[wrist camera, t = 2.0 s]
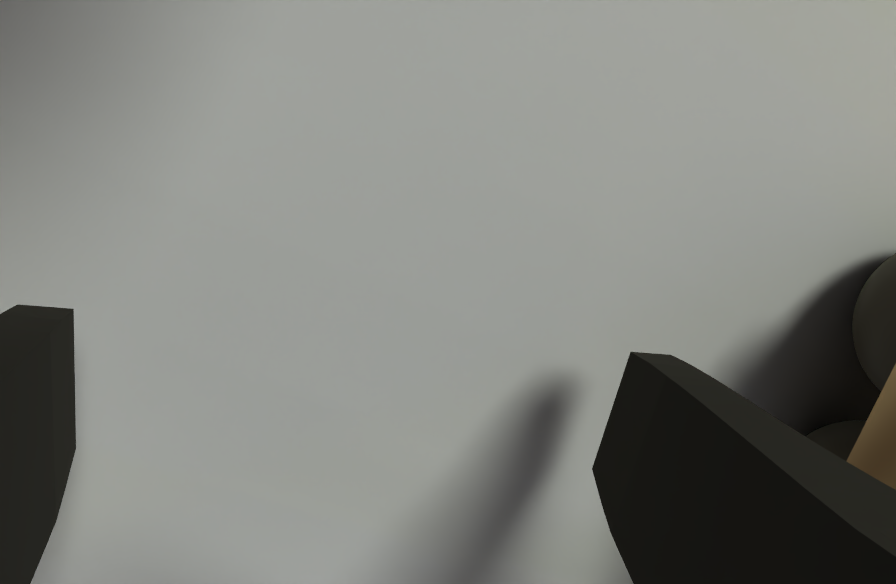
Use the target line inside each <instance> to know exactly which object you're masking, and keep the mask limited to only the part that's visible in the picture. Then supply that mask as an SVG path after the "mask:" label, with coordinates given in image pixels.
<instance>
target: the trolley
mask: <svg viewBox="0 0 896 584" xmlns="http://www.w3.org/2000/svg"><path fill="white" fill-rule="evenodd" d="M852 335H853V341H854V346H855V351H856V353H857V356H858V359H859V361H860V363H861V366H862V367H863V369H864V371H865V372H866V374H867V375H868V377H869V378H870V380H871V381H872V382H873V383H874V385H875V386H876V387H877V388H878V389H879V390H880V391H881V394H880V396H879V398H878V399H877V401H876V403H875V405H874V407H873V409H872V411H871V413H870V415H869V417H868V419H867V421H844V422H838V423H833V424H830V425H827V426H824V427H821V428H819V429H817V430H815V431H813V432H811V433H810V434H808V435H807V436H805V437H807V438H808V439H810V440H812V441H813V442H815V443H817V444H818V445H820V446H821V447H823V448H825V449H826V450H828V451H830V452H831V453H833V454H834V455H836V456H838V457H840V458H841V459H843V460H845V461H846V462H848V463H850V464H852V465H853V466H855V467H857V468H859V469H860V470H862V471H864V472H865V473H867V474H869V475H871V476H872V477H874V478H876V479H877V480H879V481H881V482H883V483H884V484H886V485H888V486H890V487H892V488H894V489H895V490H896V254H894V255H893V256H891V257H890V258H888V259H887V260H886V261H885V262H884V263H882V264H881V265H880V266H879V267H878V268H877V269H876V270H875V271H874V272H873V274H872V275H871V276H870V277H869V279H868V280H867V282H866V283H865V285H864V286H863V288H862V290H861V292H860V294H859V297H858V299H857V302H856V305H855V309H854V313H853V322H852Z"/></svg>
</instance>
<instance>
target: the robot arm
mask: <svg viewBox="0 0 896 584" xmlns="http://www.w3.org/2000/svg"><path fill="white" fill-rule="evenodd" d="M75 449H76V432H75V373H74V315H73V309H67V308H54V307H42V306H29V305H16V306H14V307H12V308H10V309H9V310H7V311H5V312H3V313H2V314H0V584H30V583H31V581H32V578H33V576H34V573H35V571H36V569H37V566H38V564H39V561H40V559H41V557H42V554H43V552H44V549H45V547H46V545H47V542H48V540H49V537H50V535H51V532H52V530H53V527H54V525H55V523H56V520H57V516H58V513H59V509H60V505H61V502H62V498H63V495H64V491H65V488H66V484H67V480H68V476H69V472H70V468H71V465H72V461H73V457H74V453H75ZM592 470H593V474H594V477H595V481H596V485H597V488H598V492H599V496H600V499H601V503H602V506H603V509H604V513H605V516H606V519H607V522H608V525H609V528H610V532H611V534H612V536H613V539H614V541H615V543H616V546H617V548H618V550H619V552H620V555H621V557H622V559H623V561H624V563H625V566H626V568H627V570H628V572H629V574H630V577H631V579H632V581H633V583H634V584H896V490H895V489H894V488H892V487H890V486H888V485H886V484H884V483H883V482H881V481H879V480H877V479H876V478H874V477H872V476H871V475H869V474H867V473H865V472H864V471H862V470H860V469H859V468H857V467H855V466H853V465H852V464H850V463H848V462H846V461H845V460H843V459H841V458H840V457H838V456H836V455H834V454H833V453H831V452H830V451H828V450H826V449H825V448H823V447H821V446H820V445H818V444H817V443H815V442H813V441H812V440H810V439H808V438H807V437H805V436H804V435H802V434H800V433H799V432H797V431H796V430H794V429H792V428H791V427H789V426H788V425H786V424H785V423H783V422H781V421H780V420H778V419H777V418H775V417H774V416H772V415H771V414H769V413H767V412H766V411H764V410H763V409H761V408H760V407H758V406H757V405H755V404H753V403H752V402H750V401H749V400H747V399H746V398H744V397H742V396H741V395H739V394H738V393H736V392H735V391H733V390H732V389H730V388H728V387H727V386H725V385H724V384H722V383H720V382H719V381H717V380H715V379H714V378H712V377H711V376H709V375H707V374H706V373H704V372H702V371H701V370H699V369H697V368H695V367H694V366H692V365H690V364H688V363H686V362H684V361H682V360H680V359H678V358H676V357H674V356H672V355H664V354H651V353H638V352H631V353H630V356H629V359H628V362H627V365H626V368H625V371H624V374H623V377H622V380H621V383H620V386H619V389H618V392H617V395H616V398H615V401H614V404H613V407H612V410H611V413H610V416H609V419H608V422H607V425H606V428H605V431H604V434H603V437H602V441H601V444H600V447H599V450H598V453H597V456H596V459H595V462H594V465H593V468H592Z"/></svg>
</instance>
